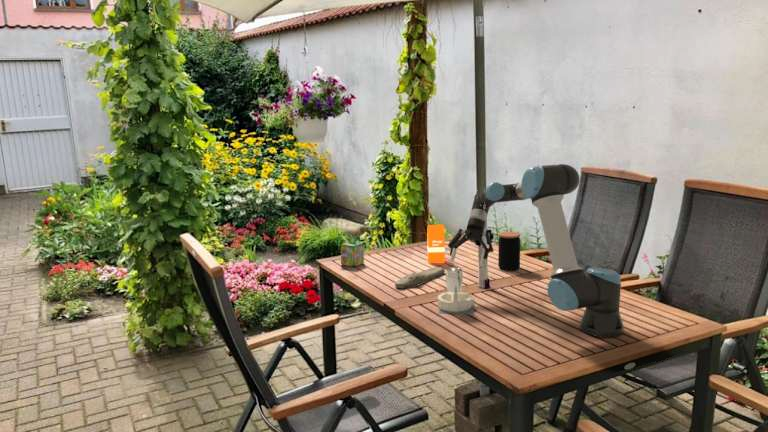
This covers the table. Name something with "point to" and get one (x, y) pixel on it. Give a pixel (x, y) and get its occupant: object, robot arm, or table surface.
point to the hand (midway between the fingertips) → (466, 263)
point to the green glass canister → (352, 253)
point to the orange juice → (436, 244)
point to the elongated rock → (419, 277)
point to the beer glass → (454, 283)
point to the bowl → (454, 303)
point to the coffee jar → (509, 251)
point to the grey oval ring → (470, 311)
